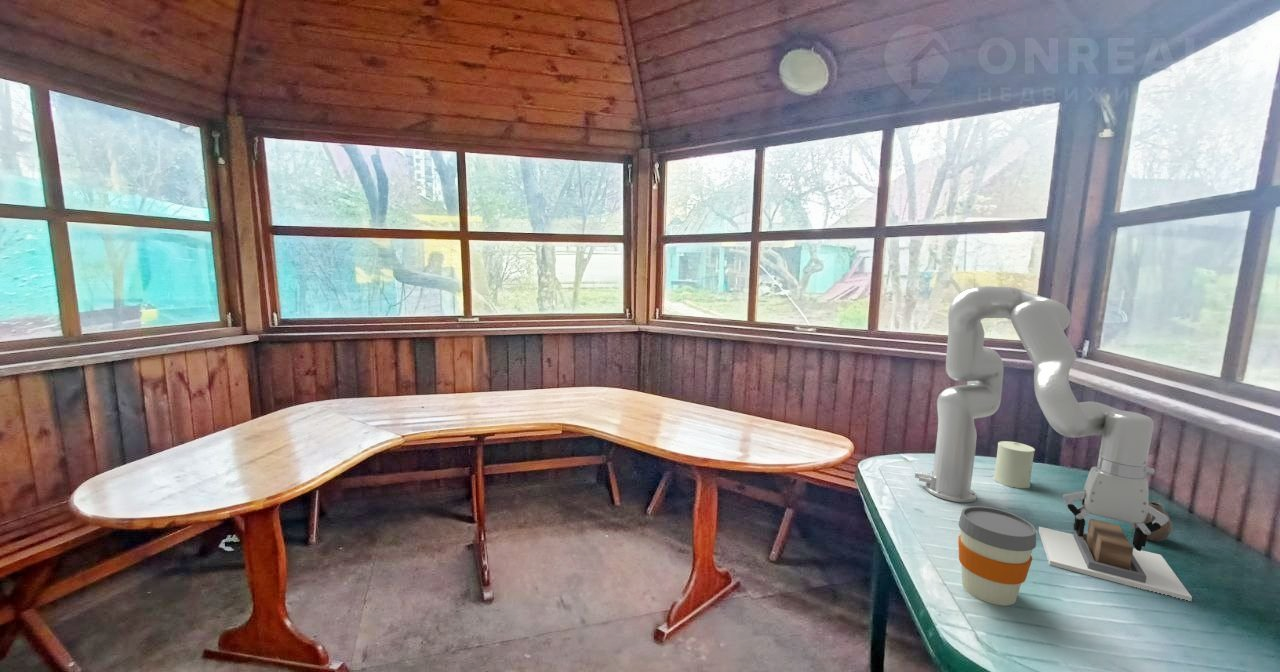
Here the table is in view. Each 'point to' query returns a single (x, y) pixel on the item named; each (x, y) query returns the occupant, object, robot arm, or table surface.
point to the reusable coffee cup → (994, 553)
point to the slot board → (1142, 574)
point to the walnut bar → (1109, 544)
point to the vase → (1165, 529)
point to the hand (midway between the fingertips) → (1107, 540)
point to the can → (1014, 464)
